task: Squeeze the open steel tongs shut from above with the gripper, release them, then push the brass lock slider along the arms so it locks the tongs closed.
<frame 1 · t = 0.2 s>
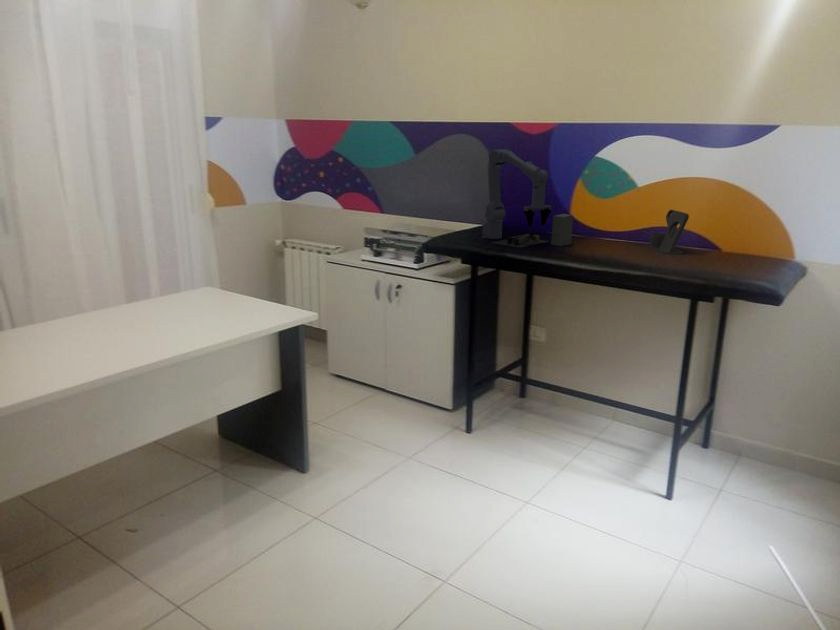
hand: (536, 225, 288), 10 cm above the table, tool pointing down, fingers open, 7 cm apart
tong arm: (521, 240, 292), point 2 cm above the table, hinge at 12.0°
phone holder: (666, 250, 282), on the table
mat: (519, 243, 297), on the table
tongs fixed: (526, 240, 300), resting on mat
skincare box: (561, 246, 291), on the table
lock slider: (535, 237, 300), point 2 cm above the table, slide at 0.0 cm
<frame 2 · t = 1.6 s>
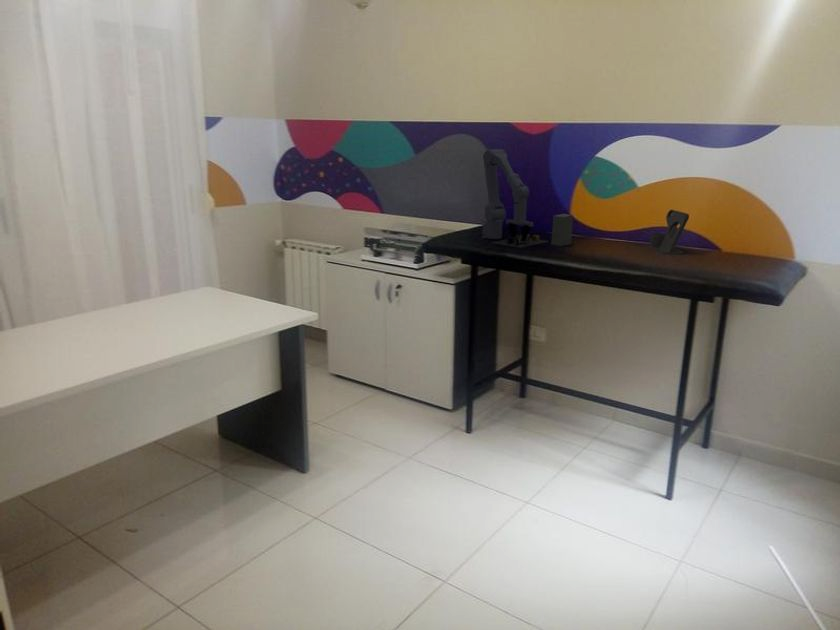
hand: (518, 240, 295), 2 cm above the table, tool pointing down, fingers open, 5 cm apart
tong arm: (521, 240, 292), point 2 cm above the table, hinge at 11.8°, touching gripper
everything else where it was.
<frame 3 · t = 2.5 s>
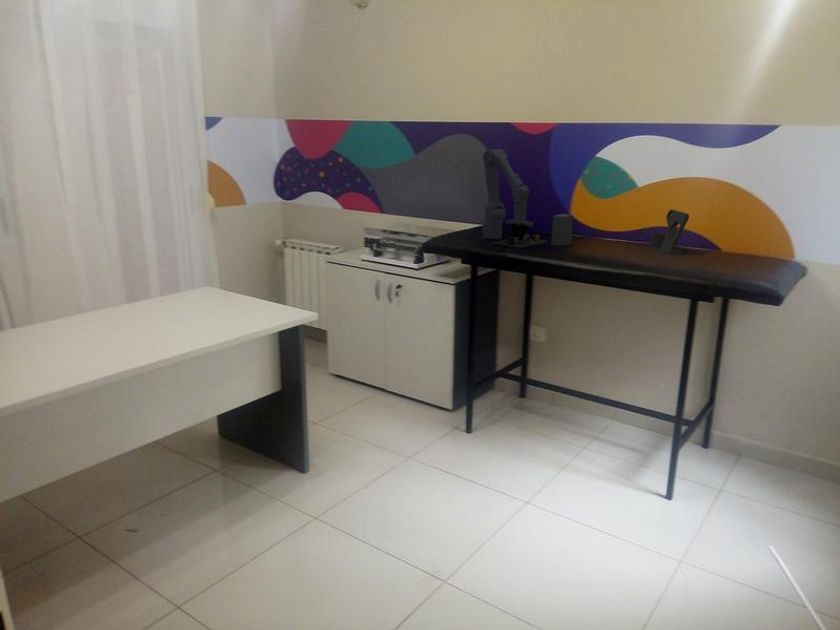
hand: (518, 240, 294), 2 cm above the table, tool pointing down, fingers closed
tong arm: (518, 239, 293), point 2 cm above the table, hinge at 1.3°, touching gripper
everything else where it was.
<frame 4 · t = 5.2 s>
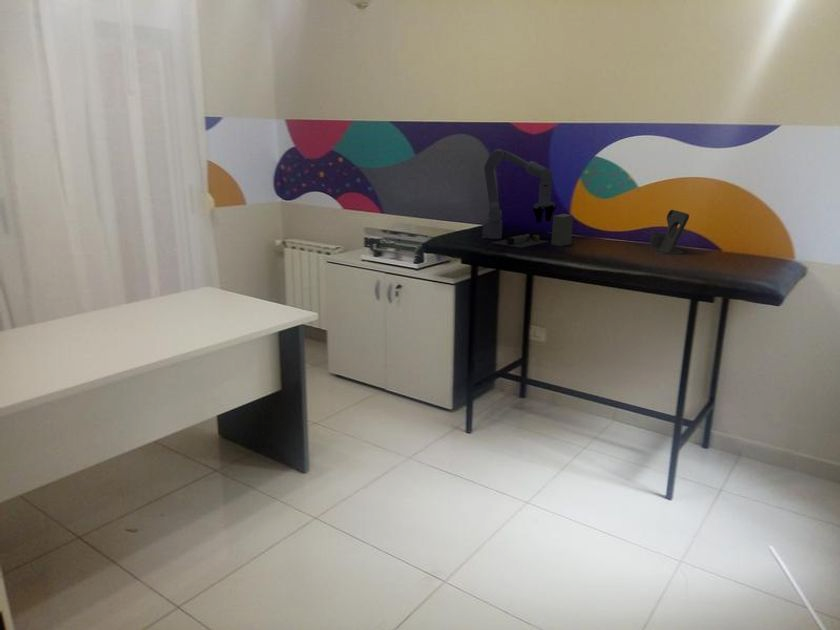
hand: (543, 221, 302), 9 cm above the table, tool pointing down, fingers open, 7 cm apart
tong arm: (518, 239, 293), point 2 cm above the table, hinge at 1.0°
everything else where it was.
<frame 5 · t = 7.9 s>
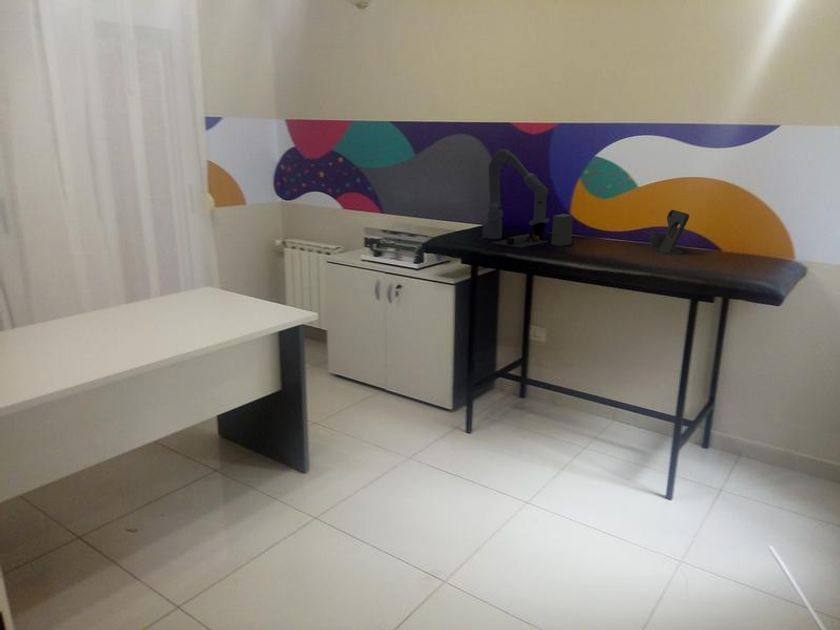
hand: (538, 238, 302), 2 cm above the table, tool pointing down, fingers closed
lock slider: (535, 237, 300), point 2 cm above the table, slide at 0.4 cm, touching gripper
everything else where it was.
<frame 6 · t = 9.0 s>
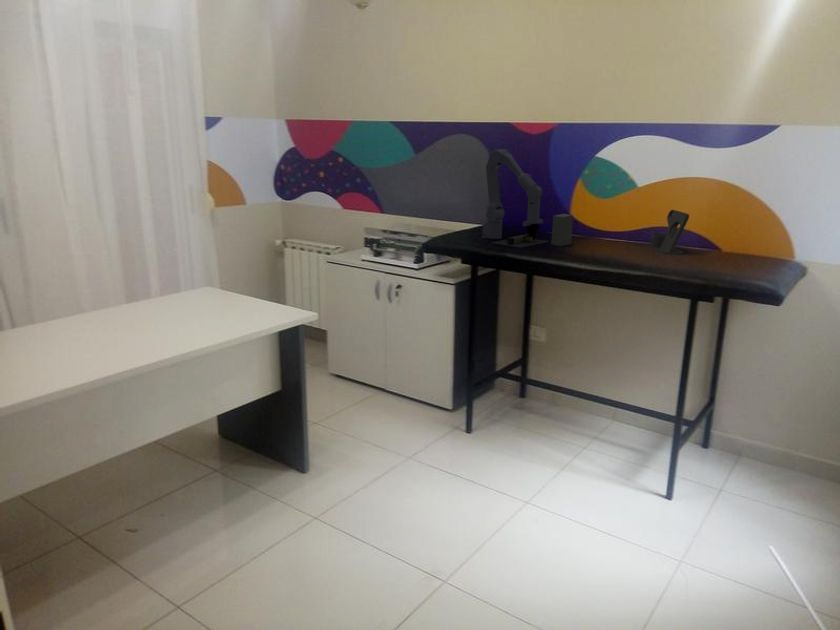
hand: (532, 239, 298), 2 cm above the table, tool pointing down, fingers closed, pressing on tongs fixed
lock slider: (528, 239, 296), point 2 cm above the table, slide at 5.8 cm, touching gripper
everything else where it was.
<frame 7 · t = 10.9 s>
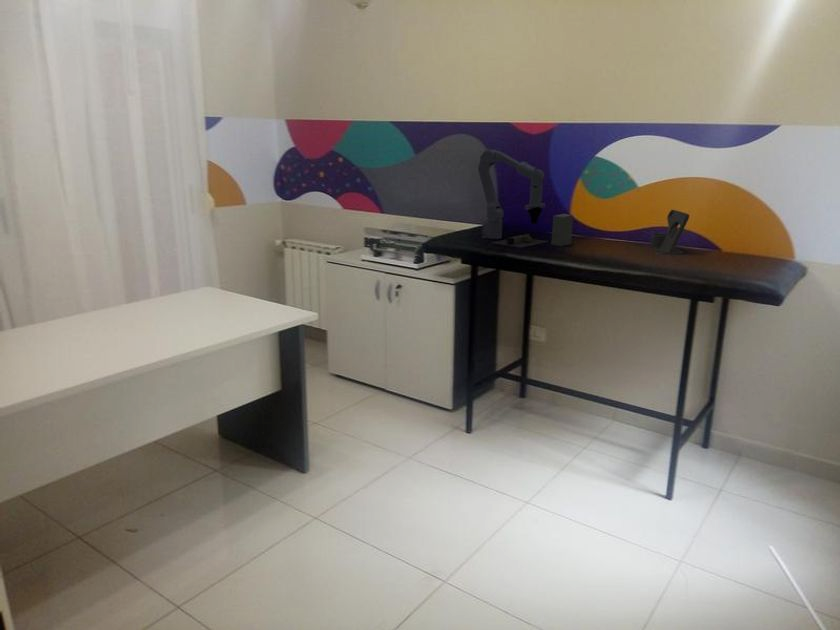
hand: (534, 223, 298), 9 cm above the table, tool pointing down, fingers closed
lock slider: (527, 239, 295), point 2 cm above the table, slide at 6.8 cm
everything else where it was.
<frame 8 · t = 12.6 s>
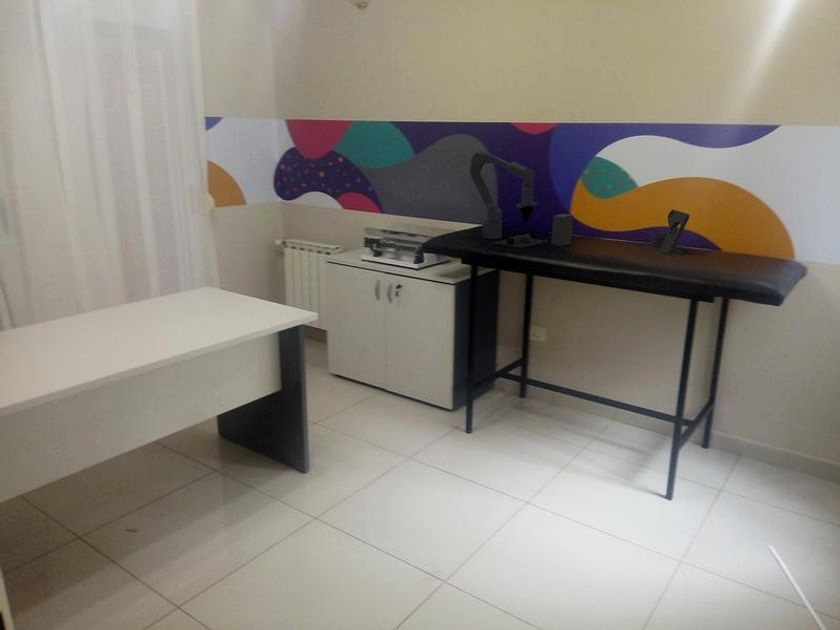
hand: (525, 221, 303), 9 cm above the table, tool pointing down, fingers closed
nothing on the table moved.
at the end: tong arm at +1° (first picture: +12°); lock slider slide at 6.8 cm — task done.
